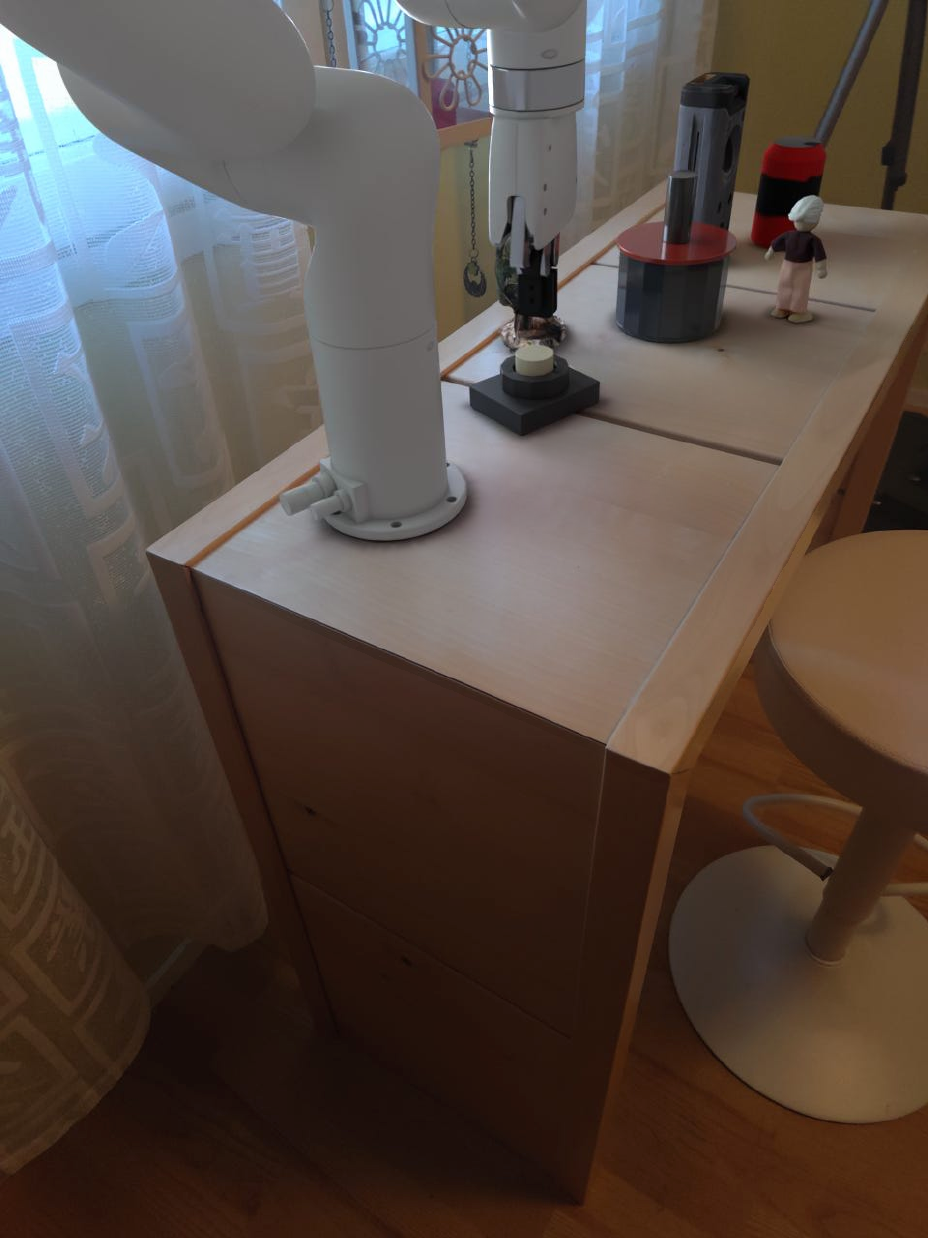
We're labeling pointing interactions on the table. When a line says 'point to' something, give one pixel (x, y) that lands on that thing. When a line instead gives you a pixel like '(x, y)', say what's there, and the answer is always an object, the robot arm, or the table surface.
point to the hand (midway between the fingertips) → (538, 313)
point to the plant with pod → (521, 327)
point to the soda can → (786, 184)
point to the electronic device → (712, 140)
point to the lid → (678, 230)
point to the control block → (533, 395)
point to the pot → (670, 299)
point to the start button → (534, 360)
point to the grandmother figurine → (799, 260)
